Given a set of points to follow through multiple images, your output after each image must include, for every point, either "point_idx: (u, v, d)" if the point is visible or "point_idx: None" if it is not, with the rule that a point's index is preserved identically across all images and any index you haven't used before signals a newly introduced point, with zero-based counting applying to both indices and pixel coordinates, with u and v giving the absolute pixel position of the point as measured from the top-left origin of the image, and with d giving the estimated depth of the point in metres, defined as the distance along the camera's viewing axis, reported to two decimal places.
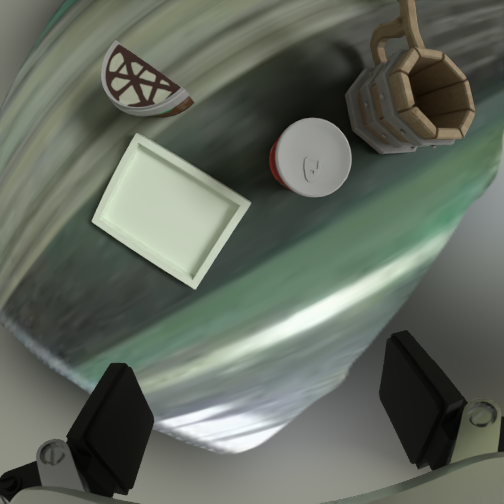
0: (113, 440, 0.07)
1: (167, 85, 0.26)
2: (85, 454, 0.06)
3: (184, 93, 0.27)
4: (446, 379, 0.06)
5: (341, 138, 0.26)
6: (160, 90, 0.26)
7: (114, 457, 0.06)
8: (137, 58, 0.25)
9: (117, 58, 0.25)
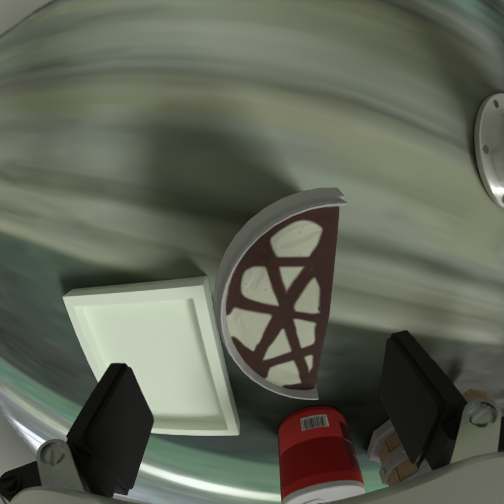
0: (113, 440, 0.07)
1: (307, 368, 0.16)
2: (85, 454, 0.06)
3: None
4: (446, 379, 0.06)
5: None
6: (293, 366, 0.16)
7: (114, 457, 0.06)
8: (329, 284, 0.14)
9: (306, 234, 0.14)
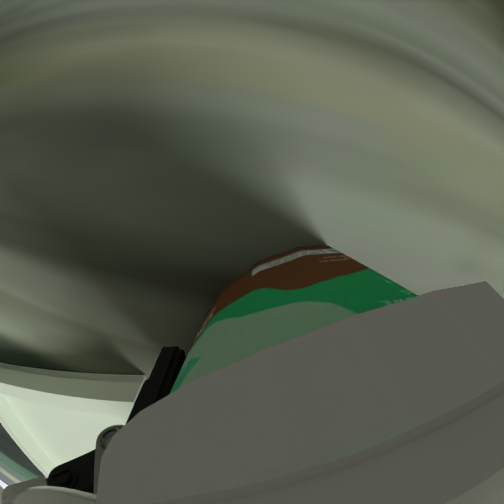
0: None
1: None
2: None
3: None
4: None
5: None
6: None
7: None
8: None
9: None
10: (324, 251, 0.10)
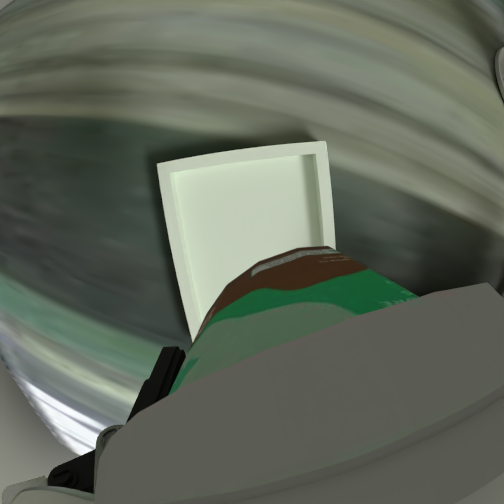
0: None
1: None
2: None
3: None
4: None
5: None
6: None
7: None
8: None
9: None
10: (324, 251, 0.10)
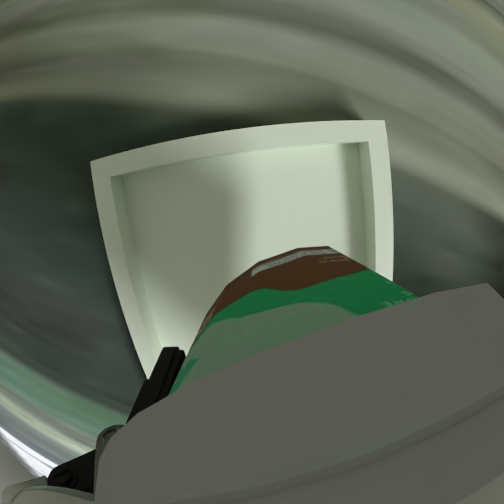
0: None
1: None
2: None
3: None
4: None
5: None
6: None
7: None
8: None
9: None
10: (324, 251, 0.10)
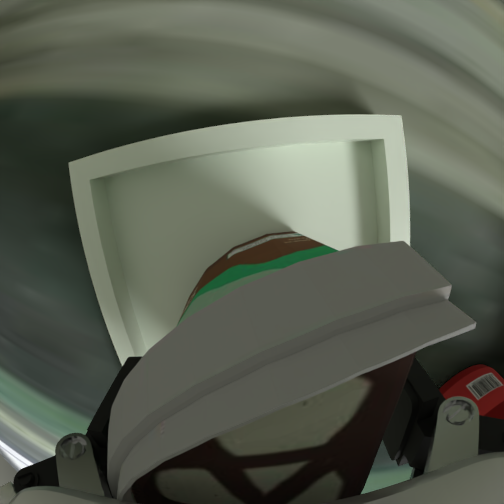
0: None
1: None
2: (106, 447, 0.06)
3: None
4: (423, 376, 0.06)
5: None
6: None
7: None
8: (364, 472, 0.04)
9: (323, 405, 0.04)
10: (290, 235, 0.11)
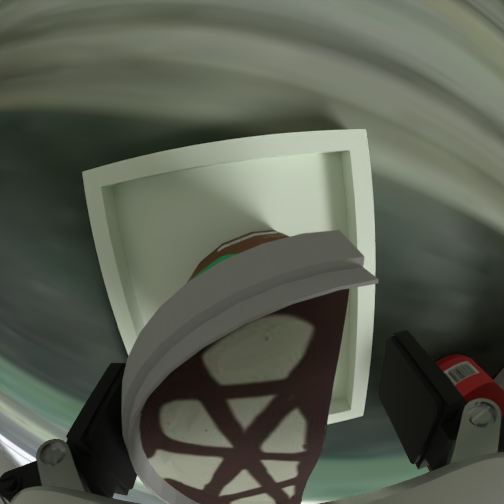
0: (113, 440, 0.07)
1: (287, 496, 0.08)
2: (85, 454, 0.06)
3: None
4: (446, 379, 0.06)
5: None
6: (265, 497, 0.08)
7: (114, 457, 0.06)
8: (323, 414, 0.07)
9: (280, 341, 0.06)
10: (269, 232, 0.14)
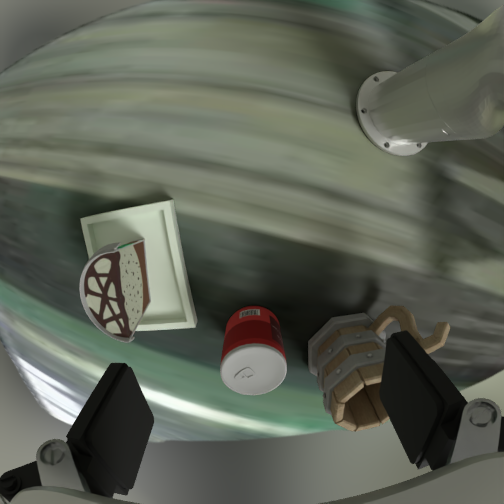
0: (113, 440, 0.07)
1: (122, 325, 0.32)
2: (85, 454, 0.06)
3: None
4: (446, 379, 0.06)
5: (281, 376, 0.32)
6: (115, 323, 0.32)
7: (114, 457, 0.06)
8: (118, 285, 0.30)
9: (106, 263, 0.30)
10: (138, 240, 0.37)
